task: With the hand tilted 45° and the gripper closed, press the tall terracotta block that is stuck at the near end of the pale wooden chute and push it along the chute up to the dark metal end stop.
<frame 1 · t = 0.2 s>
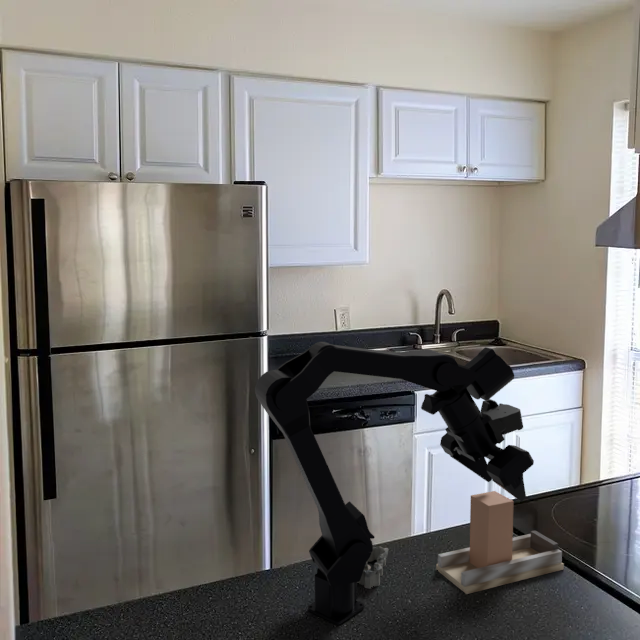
hand: (506, 489, 111), 15 cm above the countertop, tool tilted 35°, fingers open, 9 cm apart
chute block: (491, 532, 113), point 7 cm above the countertop, slide at 0.0 cm
chute: (499, 569, 115), on the countertop
egg carton: (364, 574, 114), on the countertop
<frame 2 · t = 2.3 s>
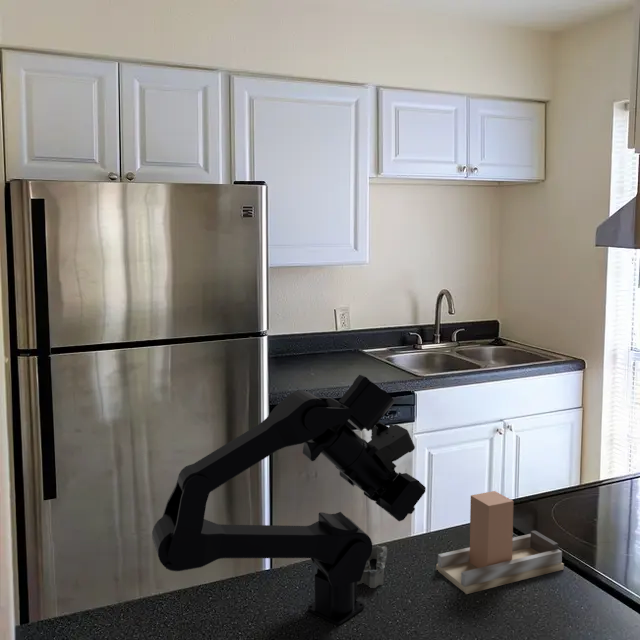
hand: (412, 510, 106), 14 cm above the countertop, tool tilted 45°, fingers closed
nothing on the countertop moved.
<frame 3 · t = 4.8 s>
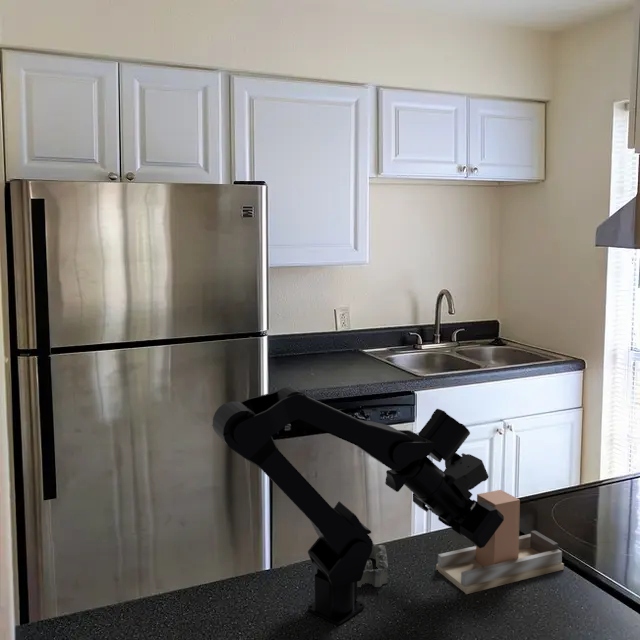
hand: (484, 535, 113), 7 cm above the countertop, tool tilted 45°, fingers closed, pressing on chute block
chute block: (497, 530, 114), point 7 cm above the countertop, slide at 1.3 cm, touching gripper
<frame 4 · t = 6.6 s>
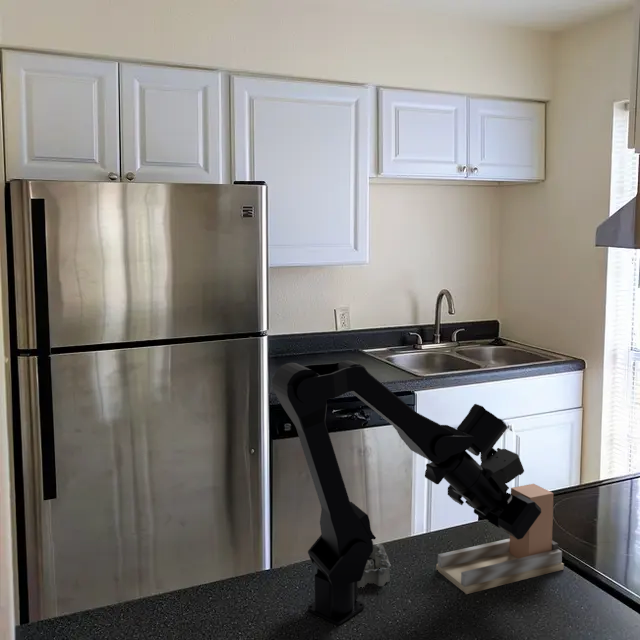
hand: (518, 528, 115), 7 cm above the countertop, tool tilted 45°, fingers closed, pressing on chute block
chute block: (531, 523, 116), point 7 cm above the countertop, slide at 8.5 cm, touching chute, gripper
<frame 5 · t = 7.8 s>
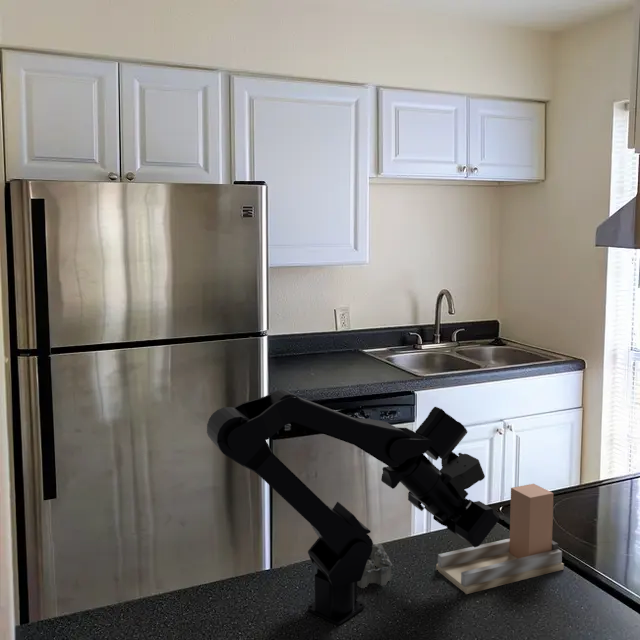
hand: (478, 535, 112), 7 cm above the countertop, tool tilted 45°, fingers closed
chute block: (531, 523, 116), point 7 cm above the countertop, slide at 8.5 cm, touching chute
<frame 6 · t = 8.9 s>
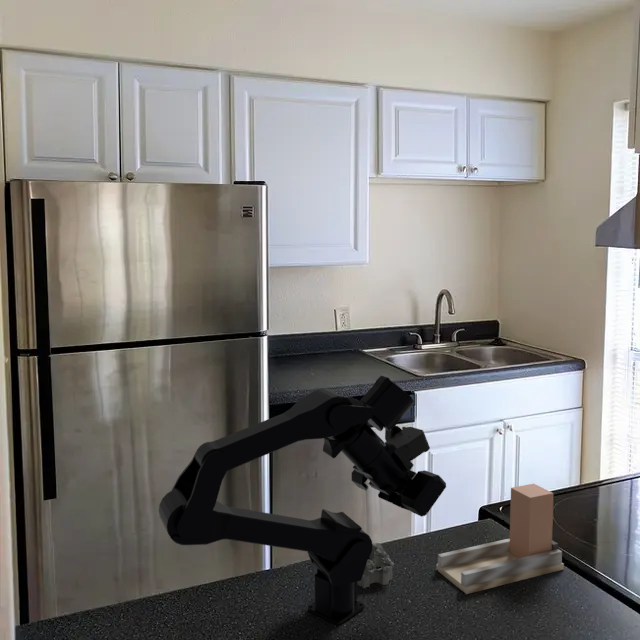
hand: (425, 513, 108), 13 cm above the countertop, tool tilted 40°, fingers closed
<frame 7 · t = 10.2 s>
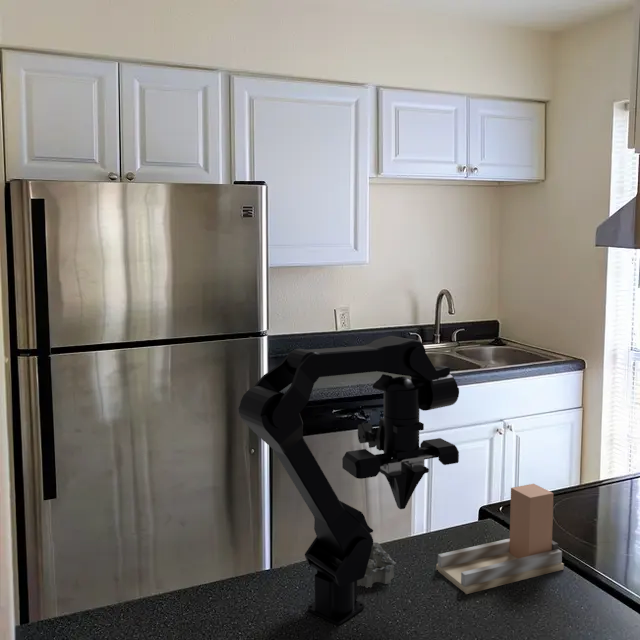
hand: (401, 508, 109), 13 cm above the countertop, tool pointing down, fingers closed
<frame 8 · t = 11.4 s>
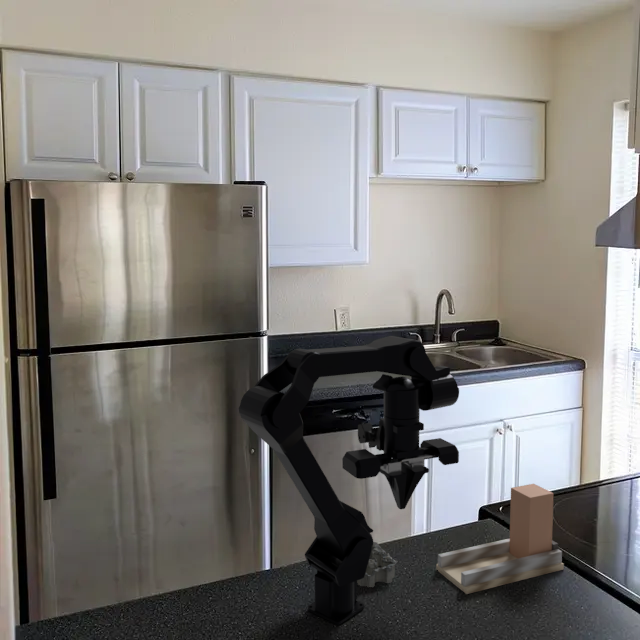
hand: (401, 508, 109), 13 cm above the countertop, tool pointing down, fingers closed
at the end: chute block slide at 8.5 cm; egg carton moved 0.9 cm from its start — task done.
